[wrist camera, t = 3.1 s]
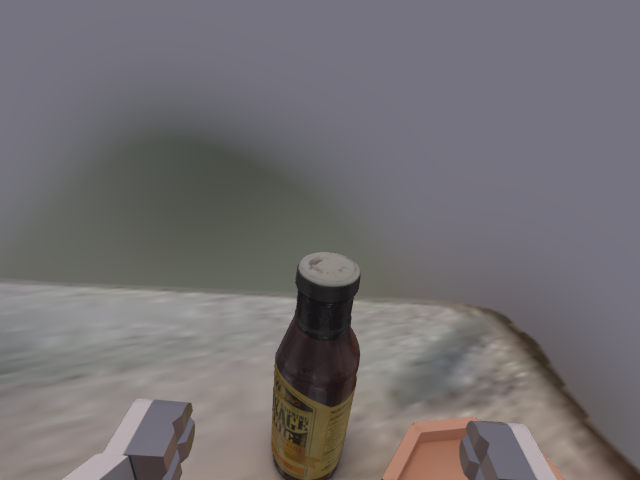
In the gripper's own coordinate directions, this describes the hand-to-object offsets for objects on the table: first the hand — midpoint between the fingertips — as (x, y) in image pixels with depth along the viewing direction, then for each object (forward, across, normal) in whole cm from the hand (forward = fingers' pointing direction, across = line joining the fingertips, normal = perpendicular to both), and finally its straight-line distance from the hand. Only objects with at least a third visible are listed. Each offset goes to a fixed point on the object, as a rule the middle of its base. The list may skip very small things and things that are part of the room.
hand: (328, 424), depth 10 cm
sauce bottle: (+12, 0, +22) cm, 25 cm away
